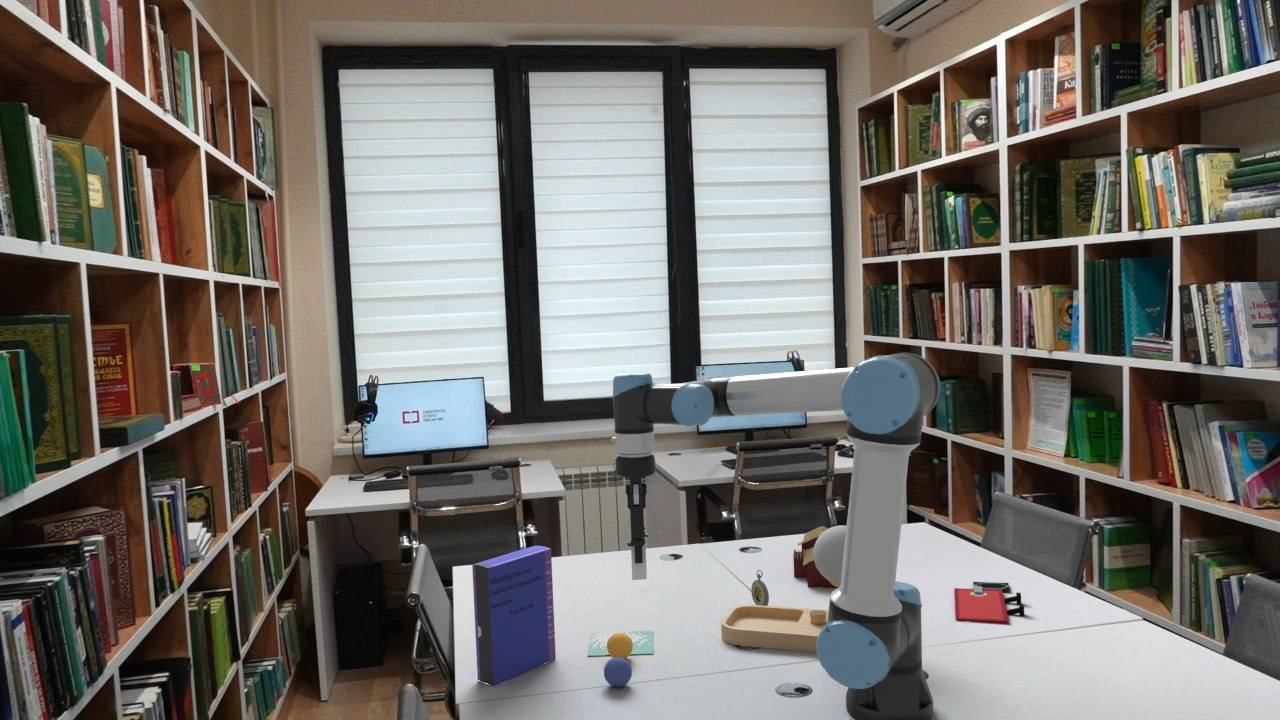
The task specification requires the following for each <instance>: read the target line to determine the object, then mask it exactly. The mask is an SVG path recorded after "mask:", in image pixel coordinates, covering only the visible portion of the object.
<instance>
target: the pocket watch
mask: <svg viewBox="0 0 1280 720" xmlns="http://www.w3.org/2000/svg"><path fill="white" fill-rule="evenodd" d="M759 572H760V573H761V574H760V573H759ZM763 574H764V573H763V571H762V570H760V569H758V570H757V571H756V577H757V579H756V580H754V581H753V582H752V585H751V597H752V600H753V602H754V605H761V606H769V601H770V597H769V589H768V587H767V585H766V584H765V582H764V581H763V580H761V578H762V577H763Z"/></svg>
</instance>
